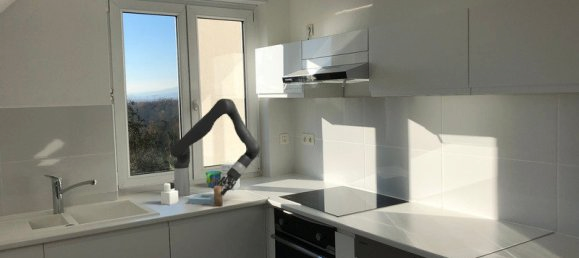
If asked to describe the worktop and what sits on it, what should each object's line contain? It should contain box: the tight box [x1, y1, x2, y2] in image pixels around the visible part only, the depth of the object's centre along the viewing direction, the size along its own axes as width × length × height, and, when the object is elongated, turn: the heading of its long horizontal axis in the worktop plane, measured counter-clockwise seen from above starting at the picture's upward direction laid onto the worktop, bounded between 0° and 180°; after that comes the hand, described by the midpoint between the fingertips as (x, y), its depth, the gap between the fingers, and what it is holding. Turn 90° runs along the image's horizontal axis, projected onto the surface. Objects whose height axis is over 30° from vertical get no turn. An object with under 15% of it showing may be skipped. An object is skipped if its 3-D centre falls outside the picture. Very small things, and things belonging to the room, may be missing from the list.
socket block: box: [188, 193, 214, 205], centre depth 289 cm, size 14×14×3 cm
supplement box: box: [220, 162, 241, 191], centre depth 326 cm, size 10×9×17 cm
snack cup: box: [205, 170, 222, 188], centre depth 334 cm, size 16×10×10 cm
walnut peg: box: [213, 186, 224, 207], centre depth 277 cm, size 5×5×11 cm
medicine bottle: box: [160, 181, 179, 206], centre depth 286 cm, size 7×7×12 cm
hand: (218, 193), depth 277 cm, fingers open, 8 cm apart
